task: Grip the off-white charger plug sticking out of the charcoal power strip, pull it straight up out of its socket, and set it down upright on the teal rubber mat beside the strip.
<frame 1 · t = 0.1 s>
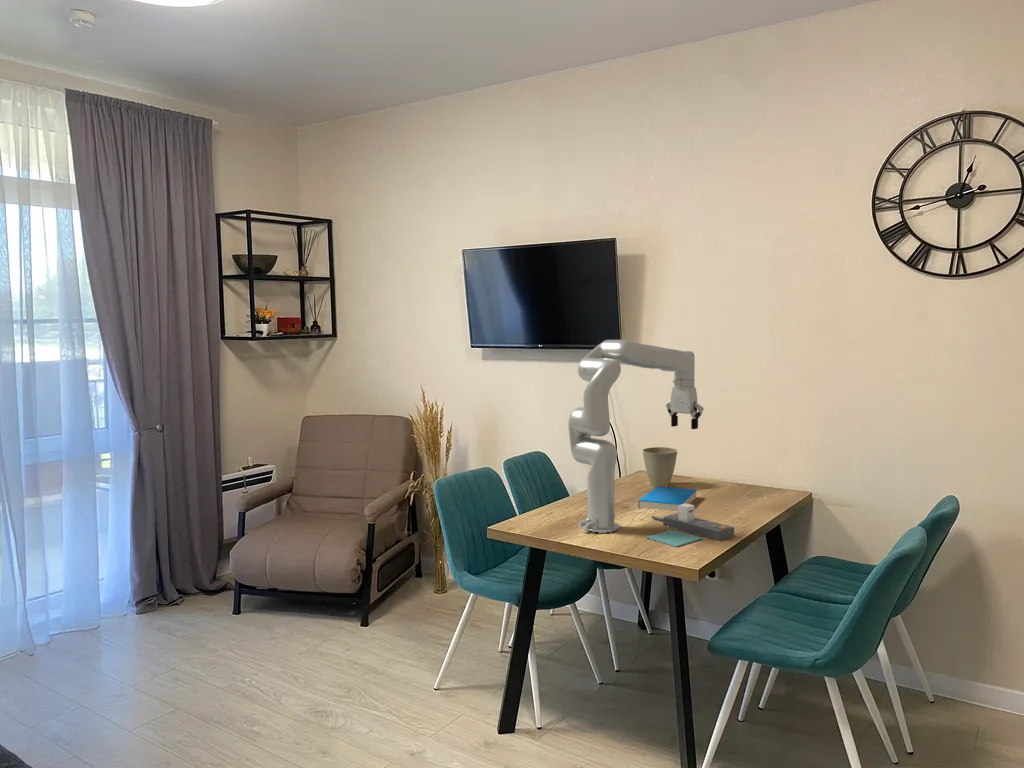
hand: (684, 427, 290), 31 cm above the table, tool pointing down, fingers open, 9 cm apart
plant pot: (659, 486, 329), on the table
power strip: (697, 530, 261), on the table
charger plug: (686, 527, 264), resting in power strip
mat: (674, 538, 252), on the table
book: (668, 504, 299), on the table
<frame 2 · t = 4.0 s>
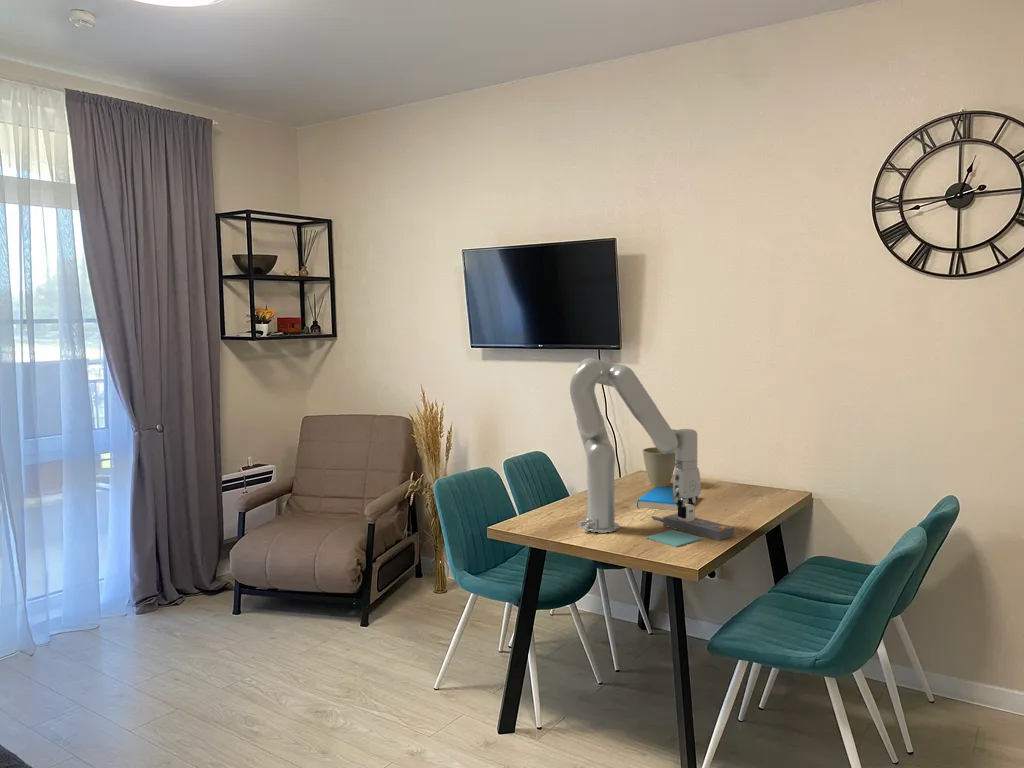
hand: (686, 515, 264), 4 cm above the table, tool pointing down, fingers closed on charger plug, 4 cm apart
charger plug: (686, 527, 264), resting in power strip, touching gripper
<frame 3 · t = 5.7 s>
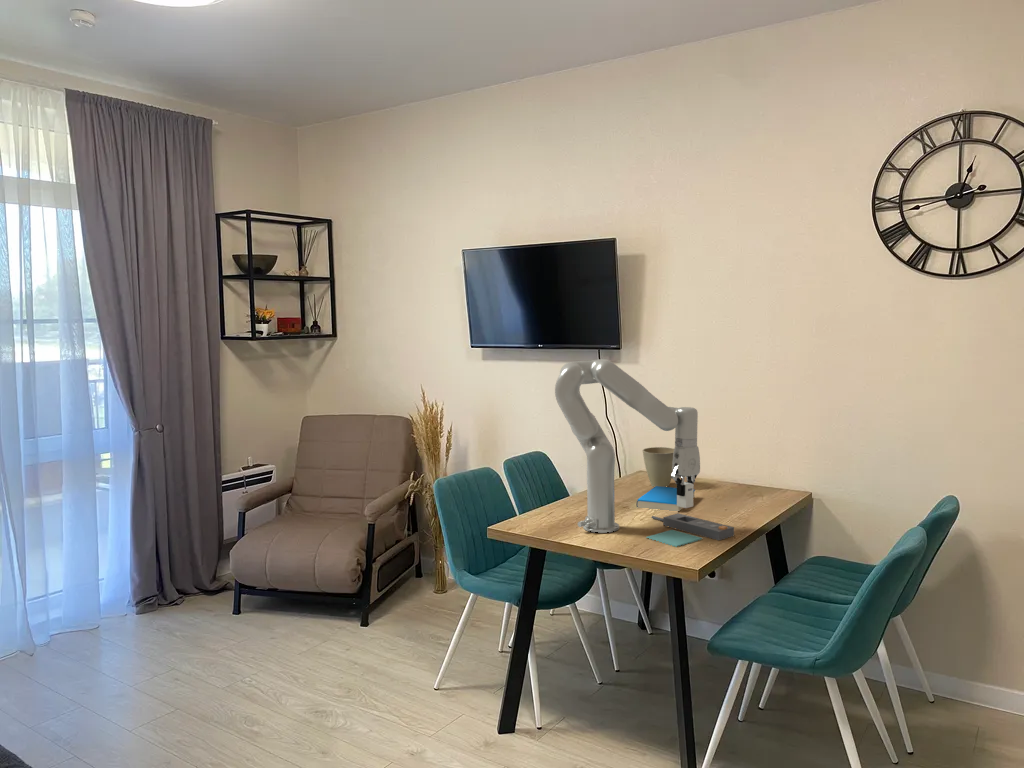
hand: (685, 494, 263), 12 cm above the table, tool pointing down, fingers closed on charger plug, 4 cm apart
charger plug: (684, 506, 264), point 8 cm above the table, touching gripper
everything else where it was.
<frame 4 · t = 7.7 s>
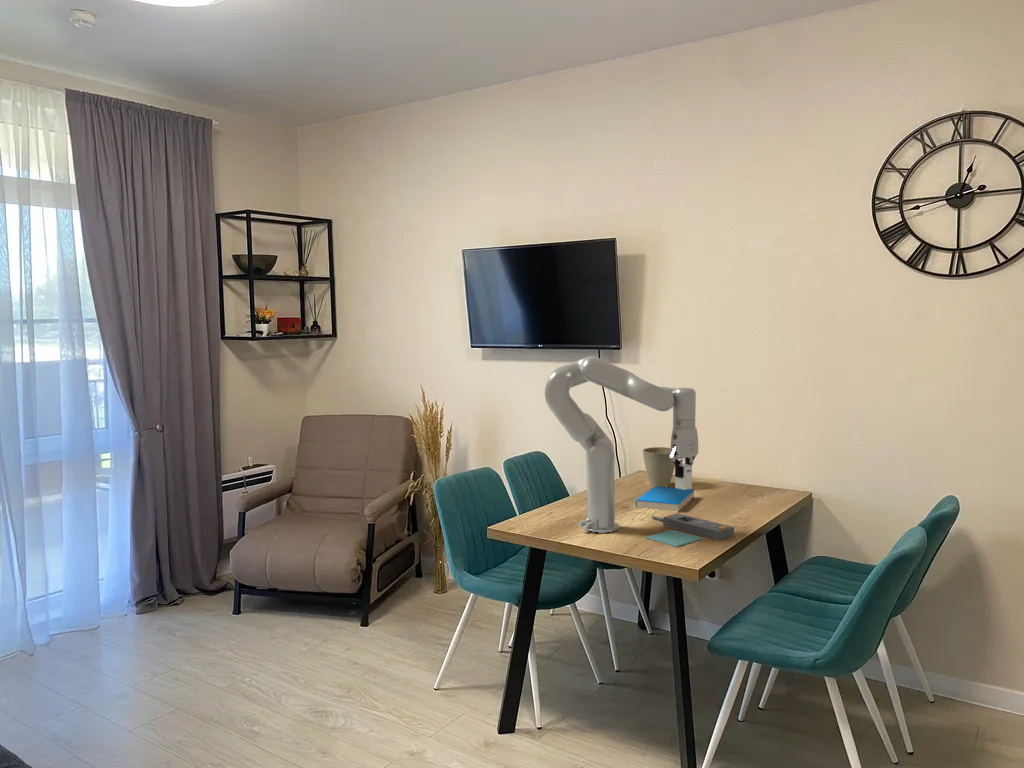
hand: (683, 475, 260), 19 cm above the table, tool pointing down, fingers closed on charger plug, 4 cm apart
charger plug: (683, 487, 261), point 15 cm above the table, touching gripper
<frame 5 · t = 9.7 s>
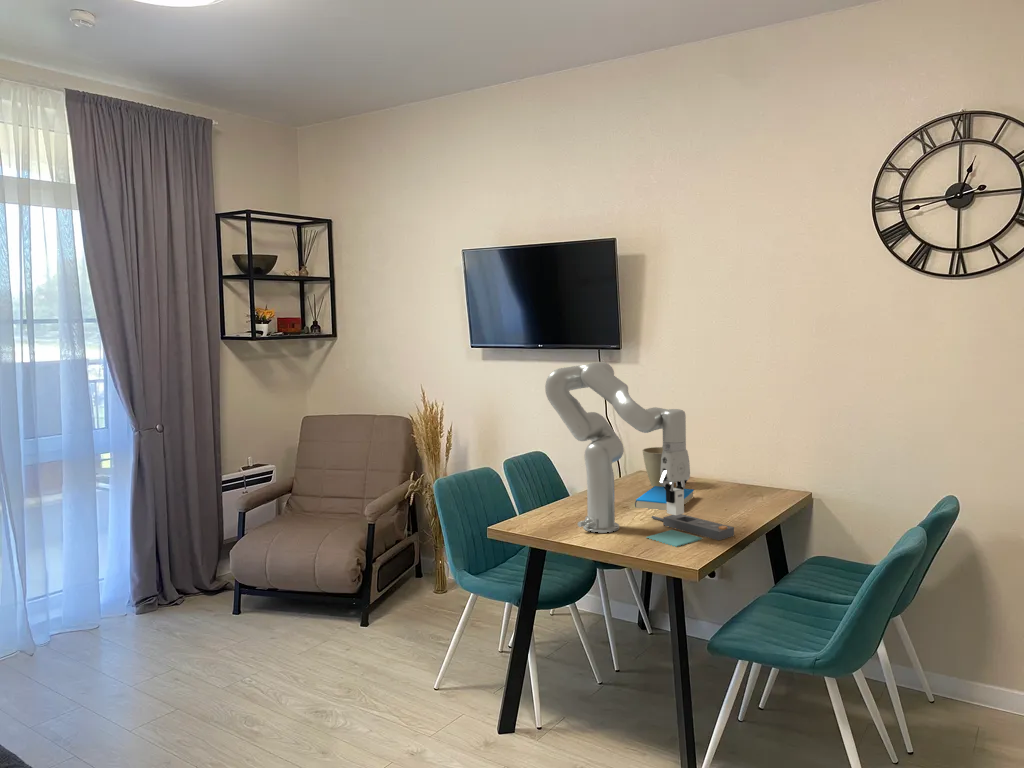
hand: (675, 500, 250), 13 cm above the table, tool pointing down, fingers closed on charger plug, 4 cm apart
charger plug: (675, 513, 251), point 9 cm above the table, touching gripper
when the fingers open (6 cm above the table, at t = 11.7 s): charger plug drops 1 cm, resting on mat.
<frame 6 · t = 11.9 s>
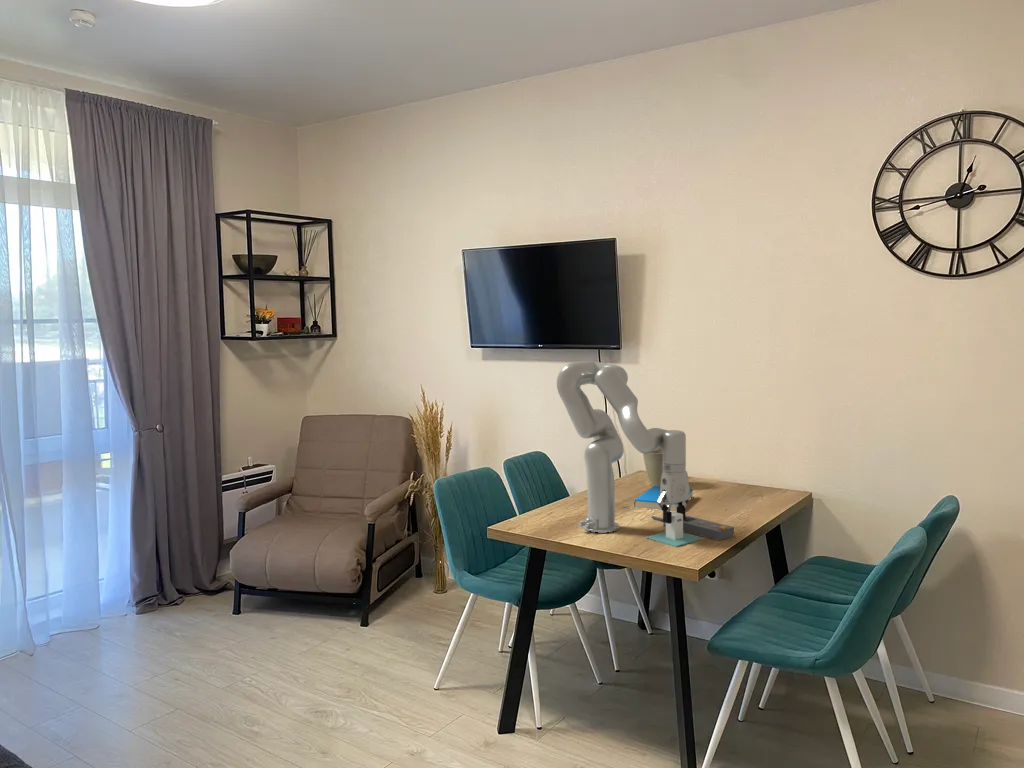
hand: (674, 520, 251), 6 cm above the table, tool pointing down, fingers open, 6 cm apart
charger plug: (674, 537, 252), point 1 cm above the table, touching mat
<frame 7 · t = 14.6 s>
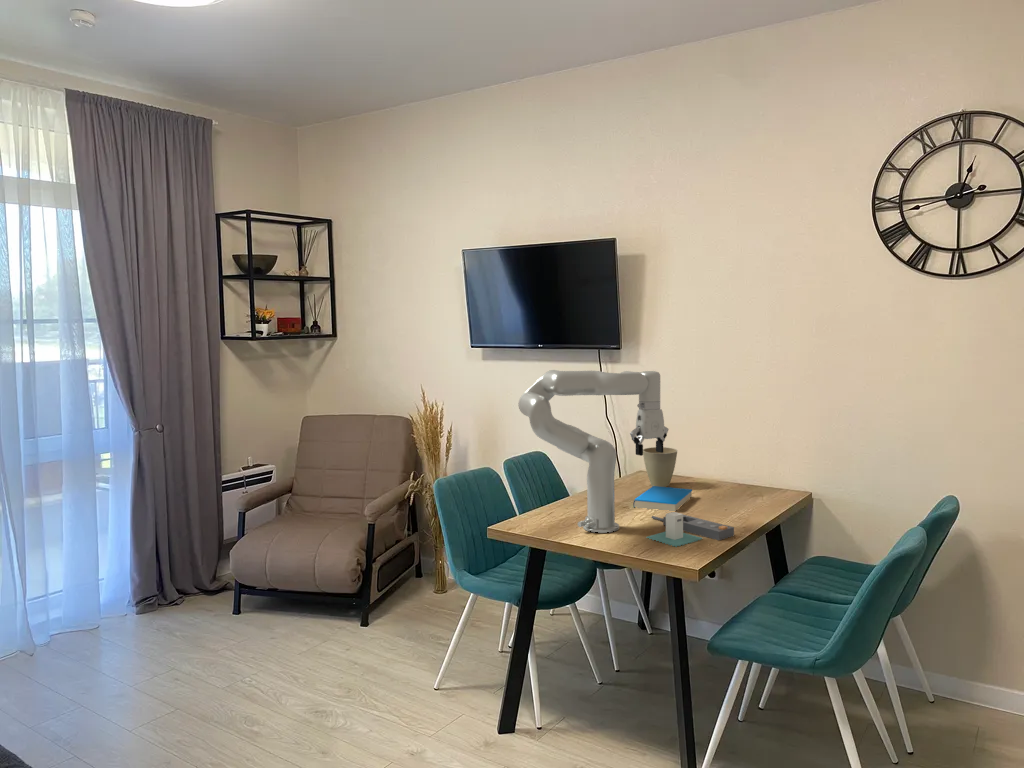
hand: (649, 453, 268), 25 cm above the table, tool pointing down, fingers open, 9 cm apart
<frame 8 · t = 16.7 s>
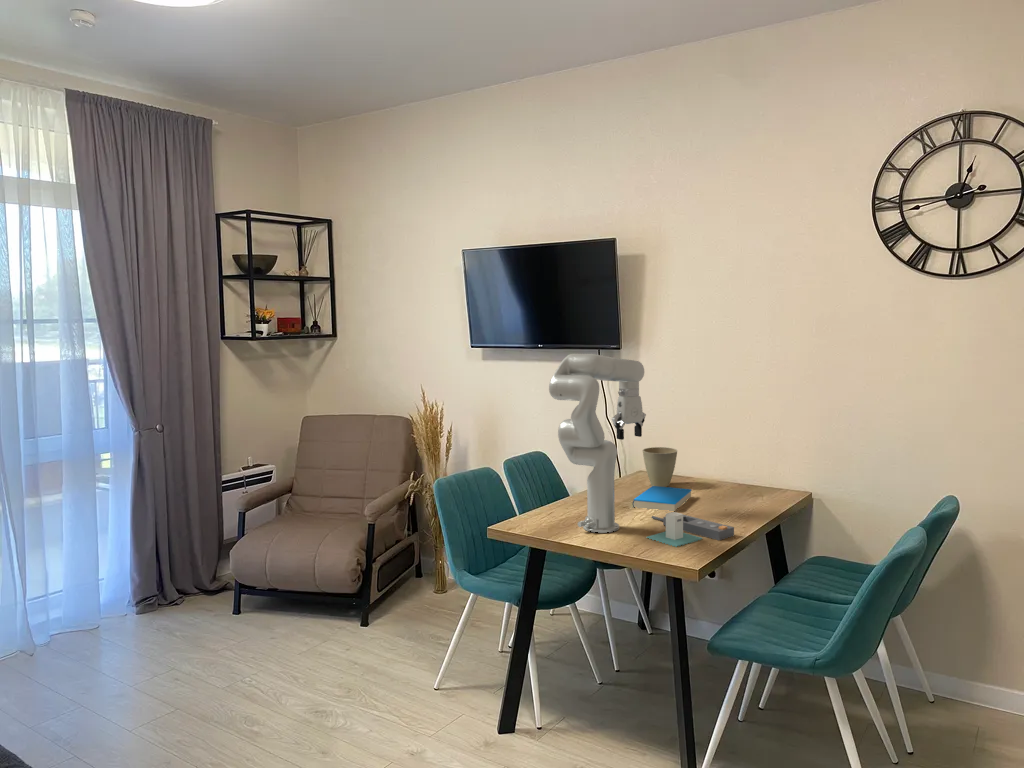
hand: (629, 437, 286), 28 cm above the table, tool pointing down, fingers open, 9 cm apart
at the end: charger plug inside the target area on the mat (0.1 cm from its centre), point 0.5 cm above the mat's base; charger plug tilted 0°; the gripper is holding nothing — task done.
